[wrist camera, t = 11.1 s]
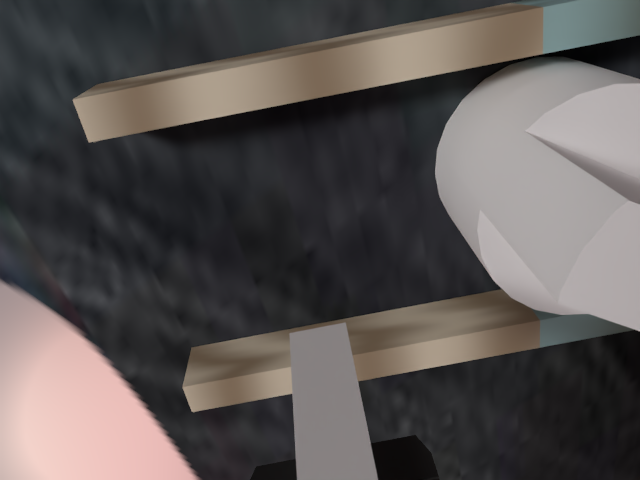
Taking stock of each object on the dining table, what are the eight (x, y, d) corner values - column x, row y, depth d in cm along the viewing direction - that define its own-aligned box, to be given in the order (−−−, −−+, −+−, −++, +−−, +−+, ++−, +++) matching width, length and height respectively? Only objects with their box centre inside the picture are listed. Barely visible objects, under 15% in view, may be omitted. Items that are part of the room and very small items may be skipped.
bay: (200, 371, 29) (185, 444, 24) (97, 84, 22) (51, 112, 17) (695, 278, 28) (774, 335, 24) (748, -44, 21) (872, -49, 17)
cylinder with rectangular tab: (402, 211, 25) (489, 387, 15) (498, 21, 22) (704, 70, 11) (559, 268, 27) (737, 459, 17) (671, 102, 24) (987, 209, 13)
